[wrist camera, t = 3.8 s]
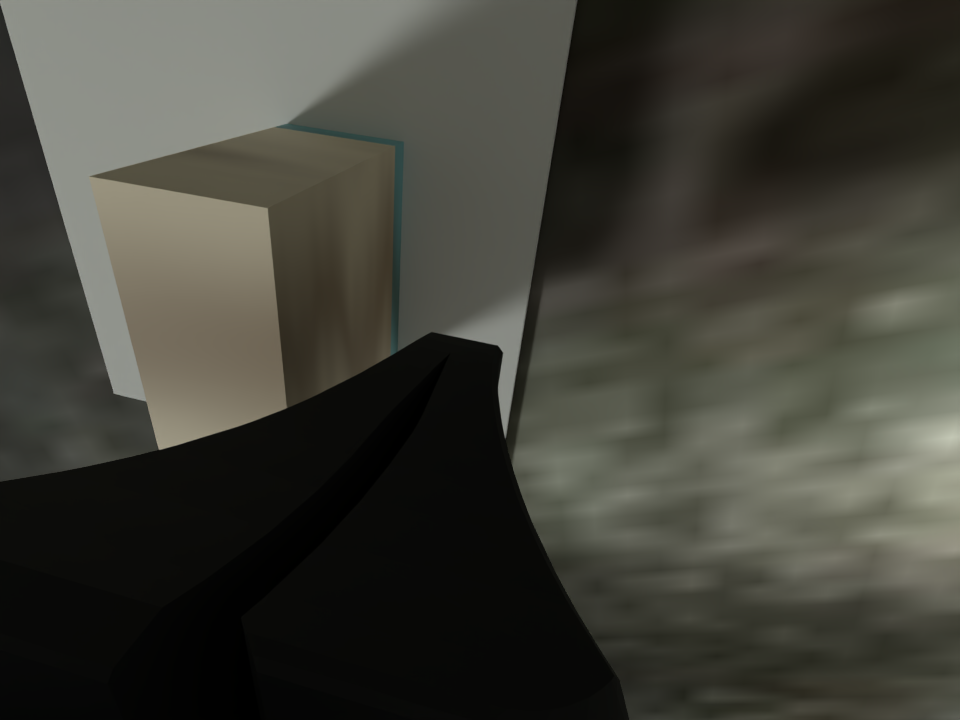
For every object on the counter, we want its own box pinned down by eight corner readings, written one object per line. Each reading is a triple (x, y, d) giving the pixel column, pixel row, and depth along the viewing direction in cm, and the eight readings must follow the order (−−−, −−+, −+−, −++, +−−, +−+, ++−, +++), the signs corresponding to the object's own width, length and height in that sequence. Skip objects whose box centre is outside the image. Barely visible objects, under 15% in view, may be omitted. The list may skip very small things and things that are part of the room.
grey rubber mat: (499, 478, 18) (497, 484, 18) (120, 389, 20) (114, 393, 20) (585, -50, 11) (584, -51, 11) (-21, -111, 13) (-35, -114, 13)
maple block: (397, 356, 16) (295, 501, 11) (302, 337, 17) (164, 467, 12) (404, 141, 13) (267, 208, 8) (287, 123, 14) (87, 176, 9)
